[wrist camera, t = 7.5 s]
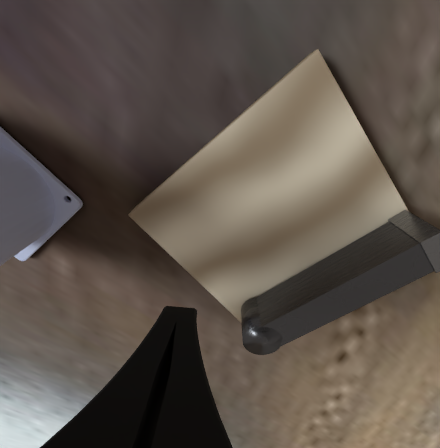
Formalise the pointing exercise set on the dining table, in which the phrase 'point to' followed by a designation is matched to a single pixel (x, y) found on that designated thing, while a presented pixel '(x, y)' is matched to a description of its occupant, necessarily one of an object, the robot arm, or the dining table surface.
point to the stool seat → (272, 190)
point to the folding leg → (342, 283)
